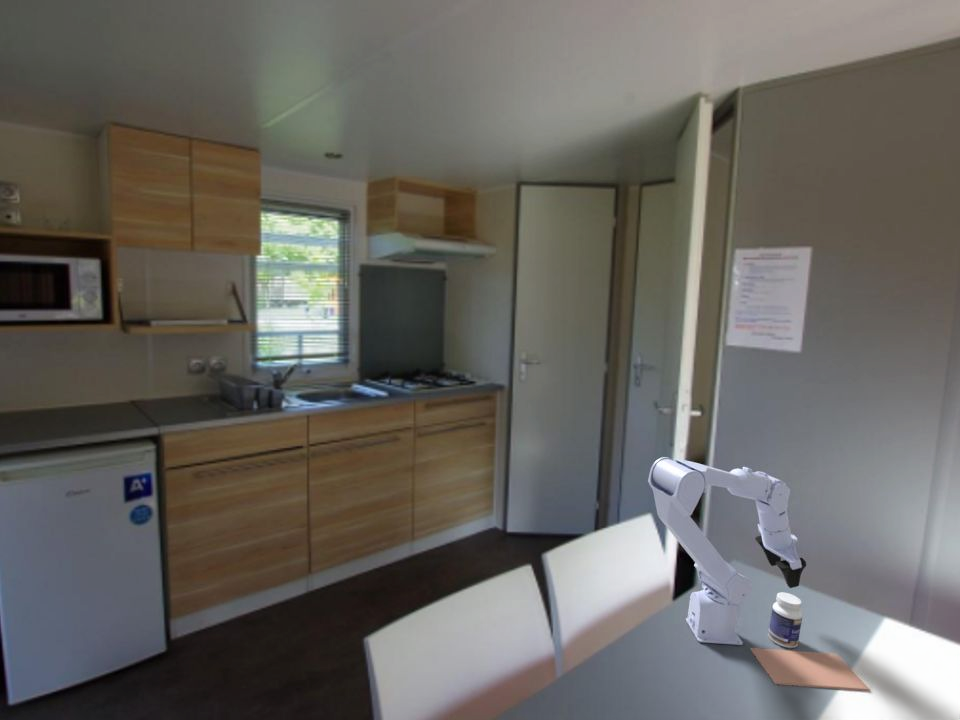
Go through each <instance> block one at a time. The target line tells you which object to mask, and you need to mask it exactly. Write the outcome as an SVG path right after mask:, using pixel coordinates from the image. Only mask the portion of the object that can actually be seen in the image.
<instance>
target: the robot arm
mask: <svg viewBox="0 0 960 720" xmlns="http://www.w3.org/2000/svg"><path fill="white" fill-rule="evenodd" d="M647 482H648V484H649V486H650V488H651V489H652V491H653V493H652V494H653V497H654V504H655V508H656V513H657V517H658V518H659V519H660V521H661V522H662V523H663V524H664V526H665V527H666V528H667V529H668V531H670V533H671V535H673V537H674V538H675V539H676V540H677V542H678V544H680V545H681V547H682V548H683V549H684V550H685V552H686V553H687V554H688V555H689V557H691V559H692V560H693V562H694V565H693V566H694V567H695V569H696V572H697V577H698V579H699V581H700V582H701V588H702V589H701V590H699V591H693V592H691V593H690V596H689V604H688V612H687V617H686V618H685V621H686V623H687V625H688V627H689V629H690V630H691V631H692V633H693V635H694V636H695V638H696V640H697V641H698V642H699V643H707V644H708V643H709V644H710V643H711V644H722V645H735V646H736V645H737V646H743V644H744V642H743V640H741V638H740V637H739V635H738V634H737V632H736V630H737V623H738V616H739V608H740V604H743V603H744V602H746V600H748V598H749V596H750V594H751V591H752V583H751V581H750V579H749V578H748V577H747V576H745V575H742V574H740V573H739V572H738V571H737V570H736V569H735V568H734V567H733V566H732V565H730V564H729V563H728V562H727V561H726V560H724V558H723V557H722V555H721V554H720V553H719V552H718V550H717V549H716V548H715V546H714V545H713V544H712V542H711V541H710V540H709V539H708V538H707V537H706V535H705V533H704V532H703V531H702V530H701V528H699V526H698V524H696V522H695V521H694V520H693V518H692V517H691V516H692V515H693V512H694V510H695V508H696V507H697V505H698V503H699V501H700V498H701V497H702V494H703V493H704V494H705V493H707V491H708V489H709V488H708V487H709V486H713V487H719V488H725V489H727V491H728V492H729V493H730V494H731V495H733V496H736V497H740V498H745V499H750V500H754V501H755V505H756V510H757V514H758V519H759V523H758V524H757V528H758V532H759V533H760V535H758V536H755V541H756V542H757V543H758V544H759V546H760V547H761V549H762V551H763V552H764V554H765V557H766V559H767V560H768V562H769V564H770V566H771V567H774V566H777V567H778V569H780V571H781V573H782V575H783V579H784V580H785V583H786V584H787V586H788V588H789V589H793V588H797V587H799V586H800V581H801V575H802V573H803V571H804V569H805V568H806V566H807V562H806V560H805V559H804V558H803V557H799V556H798V554H797V549H796V546H795V543H798V537H796V535H794V534H792V532H791V527H790V522H789V521H790V520H789V515H788V507H789V503H788V500H789V498H790V495H791V494H790V493H791V488H790V487H788V486H787V484H786V483H785V482H784V481H783V480H781V479H779V478H775V477H774V476H771V475H770V474H769V473H766V472H764V471H759V470H758V471H754V472H753V469H752V468H749V467H746V466H743V467H742V469H741V468H734V469H732V470H730V471H726V470H723V469H719V468H716V467H712V466H709V465H706V464H701V463H698V462H694V461H689V460H685V459H681V458H674V459H672V458H671V457H667V456H662V457H660V458H658V459H657V460H655V461H654V462H653V463H652V465H651V467H650V471H649V474H648V479H647ZM782 559H783V560H782Z"/></svg>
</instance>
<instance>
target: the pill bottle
mask: <svg viewBox="0 0 960 720" xmlns="http://www.w3.org/2000/svg"><path fill="white" fill-rule="evenodd" d="M801 608H802V600H801V599H800V598H799V597H797V596H796V595H794V594H791V593H788V592H784V591H783V592H782V591H781V592H778V593H777V594H776V598H775V602H773V603H772V609H771V613H770V614H771V616H770V621H769V625H768V637H769V639H770V640H771V641H772V642H773V643H775V644H776V645H778V646H780V647H783V648H787V649H792V648H797V646H798V645H799V639H800V635H801V628H802V620H803V613H802V610H801Z"/></svg>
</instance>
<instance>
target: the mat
mask: <svg viewBox="0 0 960 720" xmlns="http://www.w3.org/2000/svg"><path fill="white" fill-rule="evenodd" d="M749 649H750V651H751V652H752V654H753V655H754V657H755V656H756V657H755V658H756V660H757V662H759V663H761V664H760V665H761V666H762V667H763V669H764V670H765V672H766V674H769V675H768V676H769V678H772V679H771V680H772V682H773V683H774V685H778V684H779V685H781V686H792V685H794V686H795V687H806V686H807V687H808V688H823V689H824V688H825V689H836V690H838V689H839V690H850V691H864V692H865V691H866V692H870V690H871V689H870V688H869V687H868V685H867V684H866V683H865V682H864V681H863V680H862V679H861V678H860V677H859V676H858V674H856V672H854V671H853V669H852V668H850V667H849V666H848V665H847V663H846V662H845V661H843V659H842V658H841V657H840V656H839V654H837V653H831V652H830V653H829V652H827V653H826V652H815V651H814V652H813V651H801V650H786V649H785V650H783V649H774V648H773V649H771V648H759V647H750V648H749ZM796 685H797V686H796ZM794 686H793V687H794Z"/></svg>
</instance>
